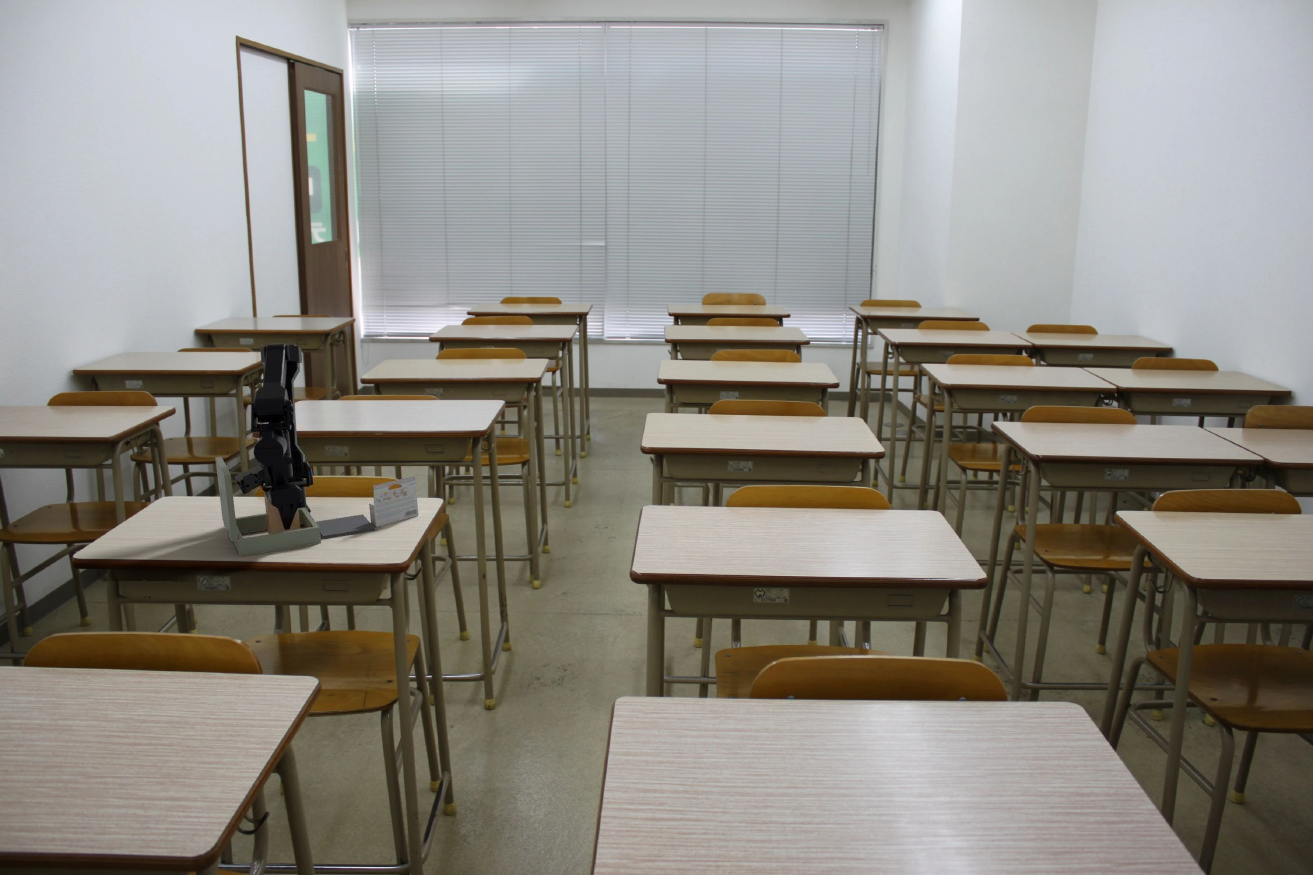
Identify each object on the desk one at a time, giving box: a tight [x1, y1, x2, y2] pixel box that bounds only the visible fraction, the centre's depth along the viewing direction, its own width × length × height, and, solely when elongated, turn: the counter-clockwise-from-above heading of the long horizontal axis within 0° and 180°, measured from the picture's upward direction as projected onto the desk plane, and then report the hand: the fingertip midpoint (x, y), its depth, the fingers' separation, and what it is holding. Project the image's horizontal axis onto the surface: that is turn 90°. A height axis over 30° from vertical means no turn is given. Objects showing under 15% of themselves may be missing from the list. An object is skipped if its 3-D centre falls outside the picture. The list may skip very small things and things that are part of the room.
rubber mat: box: [315, 513, 376, 539], centre depth 214 cm, size 11×11×1 cm
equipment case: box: [214, 456, 322, 557], centre depth 205 cm, size 16×17×18 cm
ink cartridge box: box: [368, 475, 419, 528], centre depth 218 cm, size 2×11×10 cm, turn 136°
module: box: [263, 491, 301, 534], centre depth 207 cm, size 4×6×10 cm, turn 120°
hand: (283, 523), depth 207 cm, fingers open, 9 cm apart
